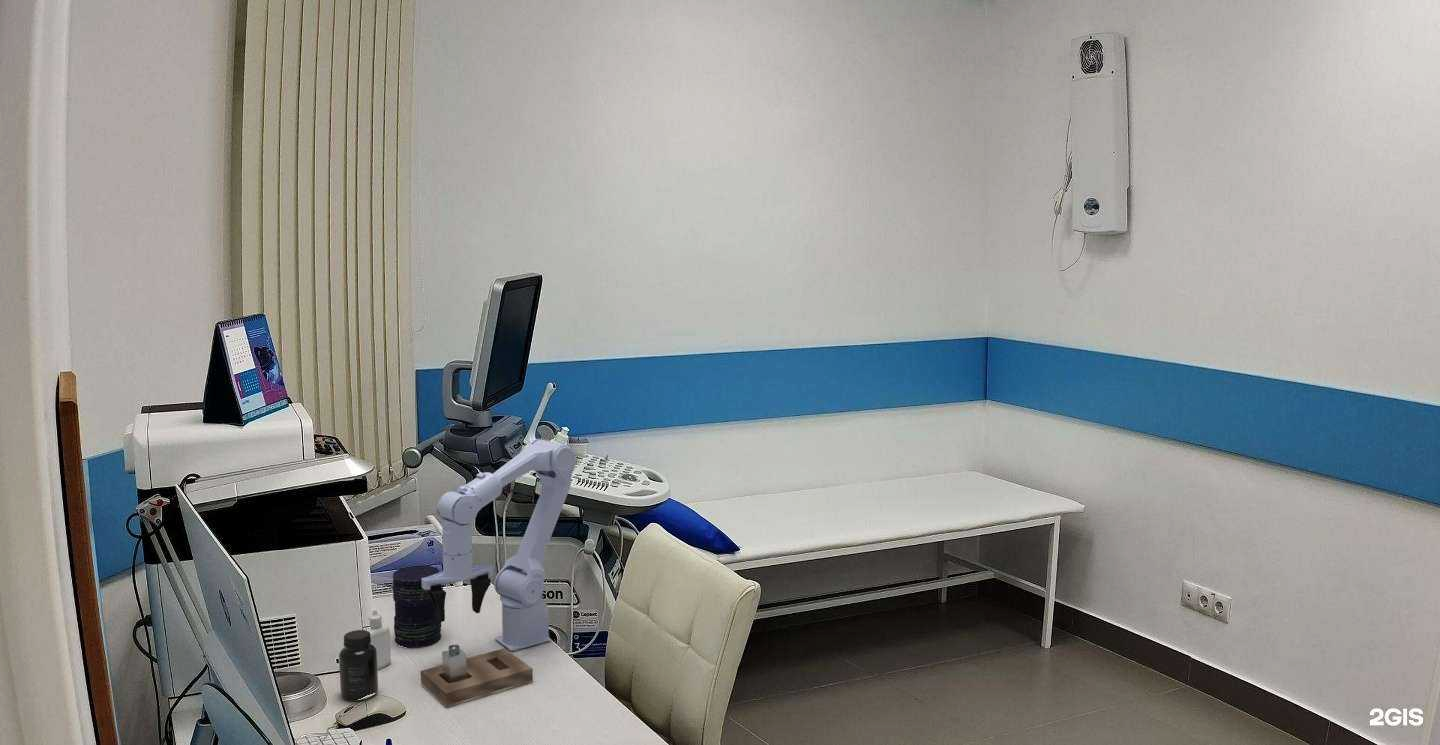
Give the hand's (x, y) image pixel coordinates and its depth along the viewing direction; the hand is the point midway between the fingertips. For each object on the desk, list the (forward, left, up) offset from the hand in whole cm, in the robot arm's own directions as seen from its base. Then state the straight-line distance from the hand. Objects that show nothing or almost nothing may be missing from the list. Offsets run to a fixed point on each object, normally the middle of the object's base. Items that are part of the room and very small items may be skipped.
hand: (458, 615), depth 210 cm
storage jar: (+2, -17, -11) cm, 20 cm away
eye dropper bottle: (+14, -9, -11) cm, 20 cm away
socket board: (+1, +10, -10) cm, 14 cm away
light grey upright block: (+5, +10, -10) cm, 15 cm away
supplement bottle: (+21, +1, -11) cm, 23 cm away
